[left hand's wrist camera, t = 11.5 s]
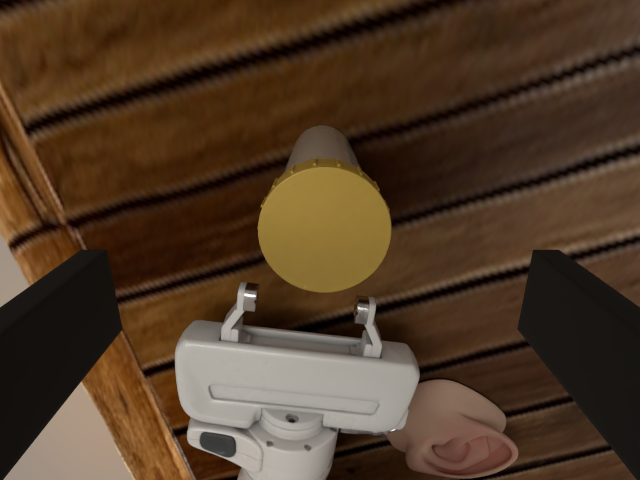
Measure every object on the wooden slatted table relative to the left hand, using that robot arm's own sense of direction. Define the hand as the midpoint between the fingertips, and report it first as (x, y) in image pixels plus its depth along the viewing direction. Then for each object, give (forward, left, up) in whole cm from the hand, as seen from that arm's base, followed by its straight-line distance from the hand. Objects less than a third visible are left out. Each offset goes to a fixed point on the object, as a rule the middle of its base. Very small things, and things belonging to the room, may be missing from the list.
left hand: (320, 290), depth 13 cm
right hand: (+4, +9, -18) cm, 21 cm away
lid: (0, 0, -6) cm, 6 cm away
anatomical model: (-3, +32, -24) cm, 40 cm away
